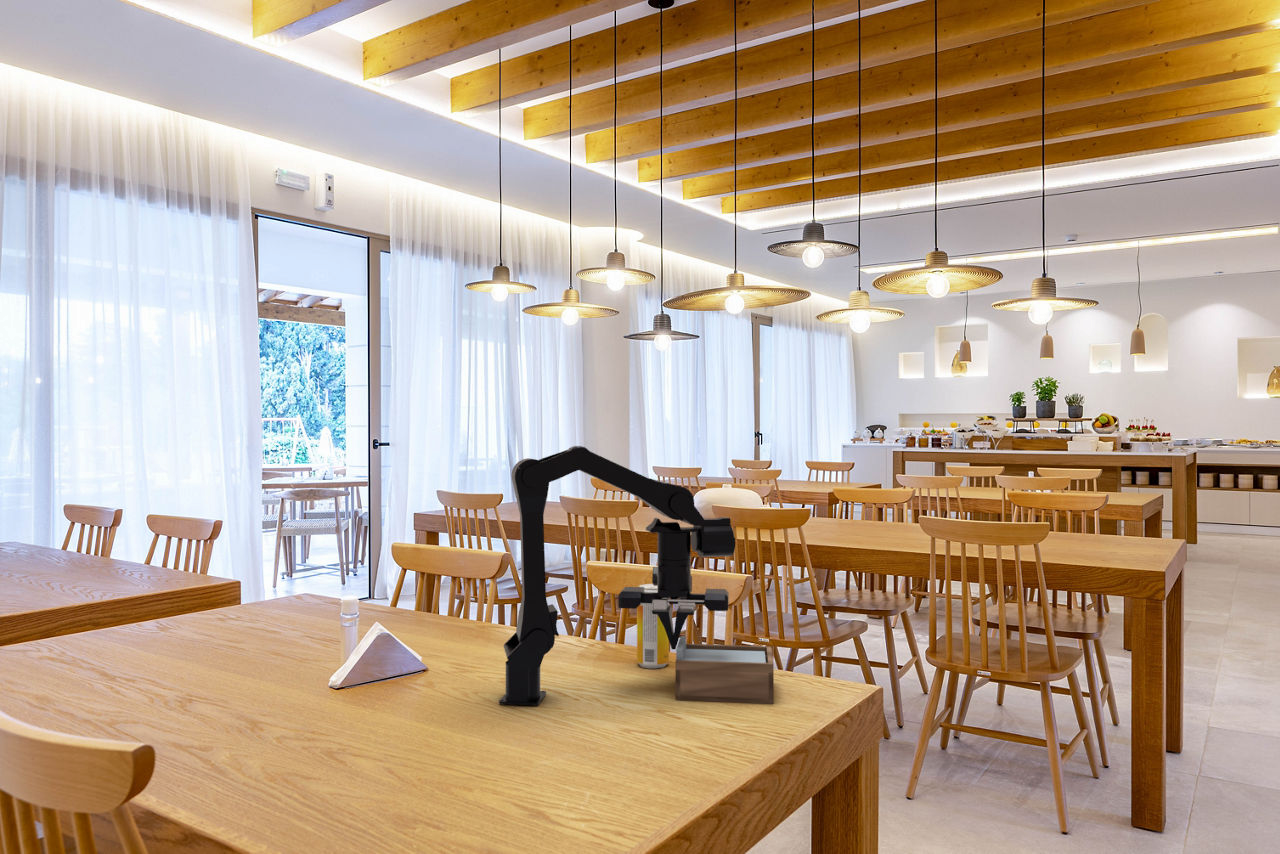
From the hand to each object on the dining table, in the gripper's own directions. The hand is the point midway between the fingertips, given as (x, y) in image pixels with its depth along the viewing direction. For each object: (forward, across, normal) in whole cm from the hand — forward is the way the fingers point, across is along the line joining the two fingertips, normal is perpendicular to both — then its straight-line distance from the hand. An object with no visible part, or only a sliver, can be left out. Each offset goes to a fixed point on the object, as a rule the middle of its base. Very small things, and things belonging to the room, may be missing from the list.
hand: (673, 648), depth 146 cm
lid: (+2, -8, 0) cm, 8 cm away
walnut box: (+7, -9, 0) cm, 11 cm away
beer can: (+7, +5, -15) cm, 17 cm away
